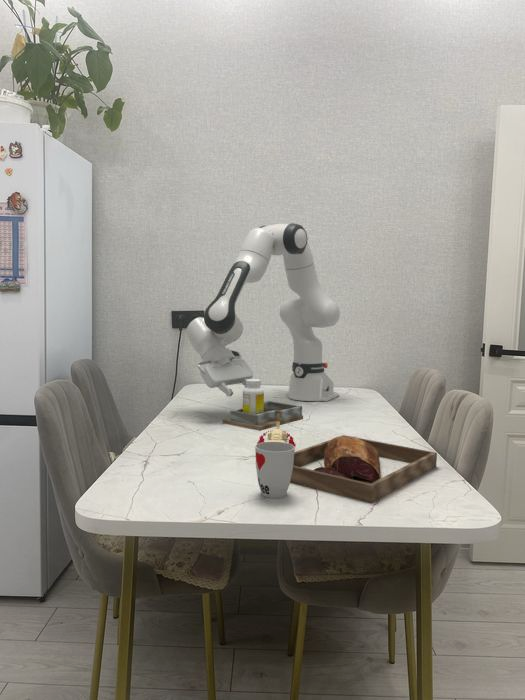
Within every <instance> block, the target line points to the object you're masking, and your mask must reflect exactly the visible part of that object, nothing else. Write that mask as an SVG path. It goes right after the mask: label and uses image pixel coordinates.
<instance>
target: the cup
mask: <svg viewBox="0 0 525 700" xmlns="http://www.w3.org/2000/svg"><path fill="white" fill-rule="evenodd" d="M254 447H255V468H256V470H255V471H256V476H257V477H256V478H257V482H258V486H259V489H260V493H261V496H263V497H264V498H265V497H266V498H270V499H279V498H284V497H285V496H286V495H287V493H288V489H289V487H290V484H291V482H290V480H291V475H292V470H293V462H294V452H296V447H295V446H293V445H292V444H289V442H286V443H284V442H266V441H264V442H262V443H259V444H257V443H256V444H255V445H254Z"/></svg>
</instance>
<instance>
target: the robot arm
mask: <svg viewBox="0 0 525 700" xmlns="http://www.w3.org/2000/svg"><path fill="white" fill-rule="evenodd" d="M308 238H309V237H308V234H307V231H306V230H305V228H304V227H303V225H301V224H298V223H295V222H294V223H293V222H292V223H275V224H269V225H261V226H259V227H255V228H252V229H251V230H249V232H248V234H247V235H246V237H245V238H244V240H243V242H242V244H241V246H240V248H239V251H238V252H237V253H238V254H237V255H236V258H235V260H234V263H233V264H232V266H231V267H230V269H229V271H228V272H227V275H226V277H225V279H224V281H223V283H222V285H221V286H220V289H219V291H218V293H217V295H216V297H215V298H214V299H213V300H212V301H211V303H210V304H208V306H206V308H205V310H204V313H203V317H201V316H198V317H196V318H194V319H193V320H191V321H190V322H189V324H188V325H187V327H186V331H185V332H186V336H187V339H188V341H189V343H190V345H191V347H192V348H193V349H194V351H195V352H196V353H197V354H198V355H199V357H200V360H201V362H199V363H198V365H197V368H198V370H199V372H200V375H201V376H200V377H201V378H202V379H203V381H204V384H205V385H206V386H207V387H208V388H209V389H213V388H218V390H219V391H221V392H222V393H224V394H225V396H226V397H232V396H233V394H234V392H233V390H232V388H229V387H227V386H231V385H237V384H241V385H242V386H244V388H246V387H247V385H246V380H247V379H253V377H254V372H253V370H252V368H251V367H250V366H249V364H248V363H247V361H246V360H244V359H243V358H242V354H241V352H239V351H235V350H232V349H229V348H228V347H227V348H226V346H228V345H230V344H232V343H234V342H236V341H237V340H239V339H240V337H241V335H242V334H243V329H244V327H243V323H242V321H241V320H240V318H239V317H238V315H237V313H236V303H237V301H238V299H239V297H240V294H241V292H242V291H243V288H244V286H245V285H246V284H254V283H257V282H259V281H260V280H262V278H263V277H264V275H265V273H266V271H267V269H268V266H269V263H270V261H271V258H272V256H282V257H283V266H284V270H285V274H286V280H287V284H288V287H289V289H290V290H291V291H292V292H294V293H295V294H297V295H298V296H299V297H298V298H297V297H296V298H295V297H294V298H290V299H286V300H284V301H283V302H281V305H280V307H279V317H280V319H281V321H282V322H283V323H284V324H285V325H286V327H287V329H288V330H289V332H290V335H291V337H292V343H293V344H292V345H293V362H292V365H291V367H292V369H291V371H292V374H291V375H290V377H289V378H290V379H289V386H288V392H286V396H287V397H288V399H291V400H294V401H302V402H303V401H305V402H329V401H331V400H333V399H336V398H337V397H339V396H340V393H339V392H335V390H334V381H333V380H332V379H331V378H330V377H329V376H328V375H327V374H326V372H325V369H328V366H329V364H328V363H326V362H323V343H322V340H321V339H320V338H318V337H317V336H316V335H315V333H314V331H313V328H317V329H318V328H321V329H322V328H323V329H324V328H329V327H333V326H335V325H336V324H337V323H338V321H339V319H340V316H341V311H340V307H339V305H338V304H337V302H336V301H335V300H333V299H331V298H330V297H329V296H328V295H327V294H326V292H325V291H324V289H323V288H322V286H321V284H320V282H319V281H320V280H319V279H318V275H317V272H316V266H315V261H314V257H313V253H312V250H311V247H310V244H309V242H308V240H309V239H308Z"/></svg>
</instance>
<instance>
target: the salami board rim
mask: <svg viewBox="0 0 525 700" xmlns="http://www.w3.org/2000/svg"><path fill="white" fill-rule="evenodd" d="M342 436H346V435H345V434H344V435H342ZM348 436H349V437H350V436H351V435H348ZM357 438H358V439H361V440H363V441H365V442H367V443H368V444H370V445H372V446H373V447H374V448H375V449H376V451H377V452H378V454H379V458H380V457H381V458H386V459H390V460H394V461H398V462H399V461H400V462H404V463H405V462H406V463H408V464H407V465H405V466H403V467H401V468H399V469H397V470H395V471H393V472H391V473H389V474H387V475H385V476H383V477H380V479H379V480H377V481H375V482H373V483H372V482H371V483H369V482H364V481H360V480H355V479H353V478H352V479H348V478H344V477H340V476H335V475H331V474H327V473H323V472H319V471H314V469H309V468H306V467H302V466H304V465H307V464H309V463H313V462H315V461H318V460H320V459H324V456H325V448H327V444H328V442H329V441H330V440H331V439H329V440H326V441H325V440H324V441H323V442H320V443H317V444H314V445H312V446H308V447H305V448H302V449H300V450H297V451H294V462H293V470H292V475H291V480H290V483H292V484H296V485H300V486H305V487H308V488H312V489H317V490H319V491H324V492H328V493H331V494H335V495H338V496H342V497H346V498H350V499H354V500H358V501H363V502H366V503H370V504H373V503H374V502H375V503H376V502H377V501H379V499H382V498H384V497H386V496H387V495H389V494H391V493H392V492H395V491H396V490H398V489H400V488H401V487H403V486H406V485H407V484H408V483H410V482H412V481H414V480H416V479H417V478H419V477H421V476H422V475H424V474H426V473H428V472H429V471H432V470H433V469H435V468H437V463H438V462H437V456H438V453H437V452H436V451H429V450H425V449H419V448H415V447H410V446H409V447H408V446H404V445H399V444H398V445H397V444H394V443H393V444H391V443H387V442H382V441H376V440H371V439H366V438H361V437H357Z"/></svg>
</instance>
